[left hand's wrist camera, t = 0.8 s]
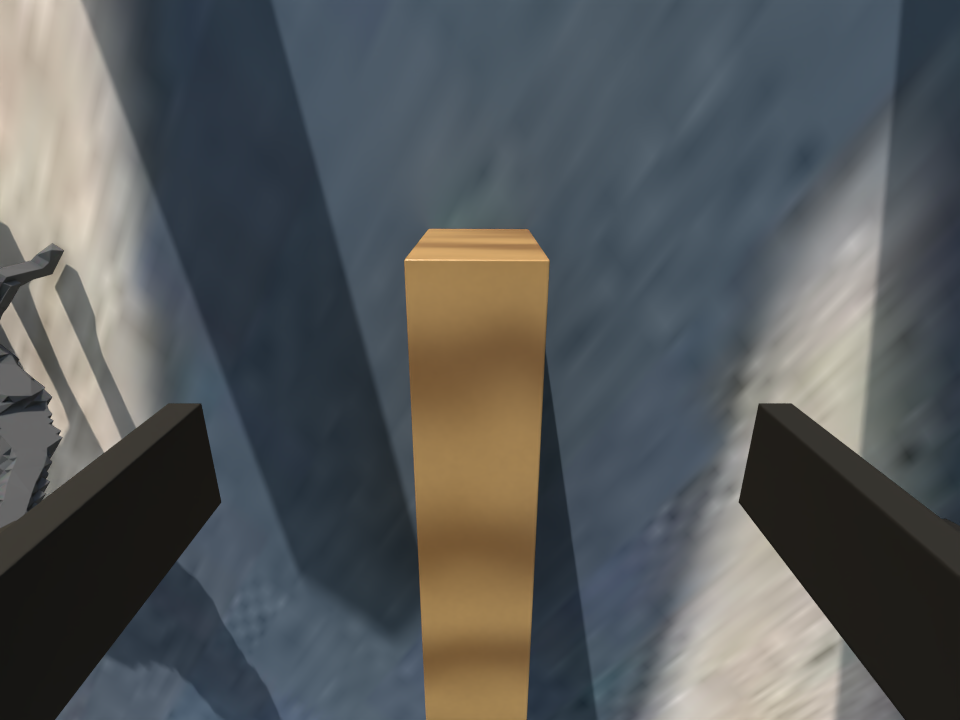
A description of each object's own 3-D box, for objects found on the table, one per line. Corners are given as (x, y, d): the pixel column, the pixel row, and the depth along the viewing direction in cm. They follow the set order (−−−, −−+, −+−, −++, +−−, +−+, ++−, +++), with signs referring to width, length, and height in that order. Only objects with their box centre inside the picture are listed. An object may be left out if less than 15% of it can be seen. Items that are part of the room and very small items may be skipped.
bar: (428, 229, 25) (404, 259, 17) (528, 229, 25) (549, 260, 17) (439, 598, 33) (426, 733, 25) (515, 599, 33) (526, 734, 25)
